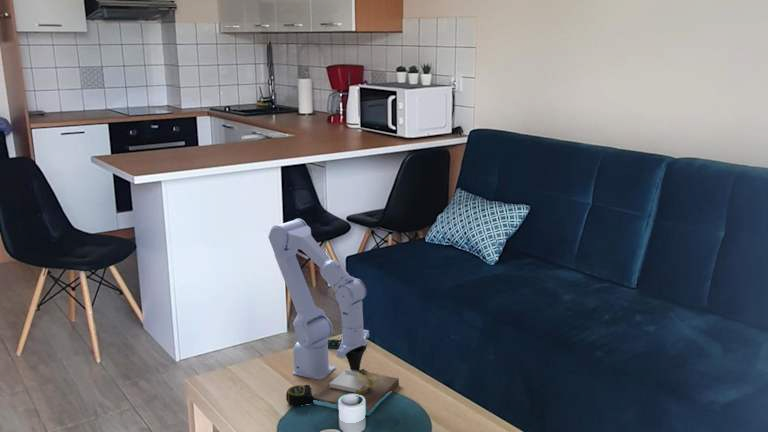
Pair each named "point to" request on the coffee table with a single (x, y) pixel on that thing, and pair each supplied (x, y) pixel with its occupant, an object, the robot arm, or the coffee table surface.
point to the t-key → (367, 381)
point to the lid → (347, 381)
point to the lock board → (371, 397)
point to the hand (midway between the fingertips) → (354, 371)
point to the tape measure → (299, 395)
